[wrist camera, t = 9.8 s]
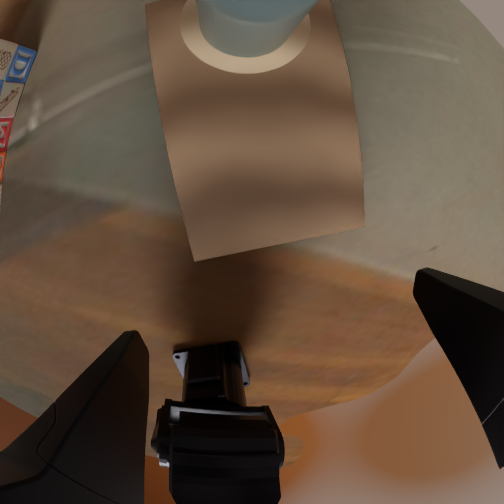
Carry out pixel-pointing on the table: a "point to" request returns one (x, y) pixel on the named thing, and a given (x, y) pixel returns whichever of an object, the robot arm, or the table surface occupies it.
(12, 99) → the stack of blocks
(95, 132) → the table surface
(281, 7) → the light blue rounded piece
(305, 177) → the plate
